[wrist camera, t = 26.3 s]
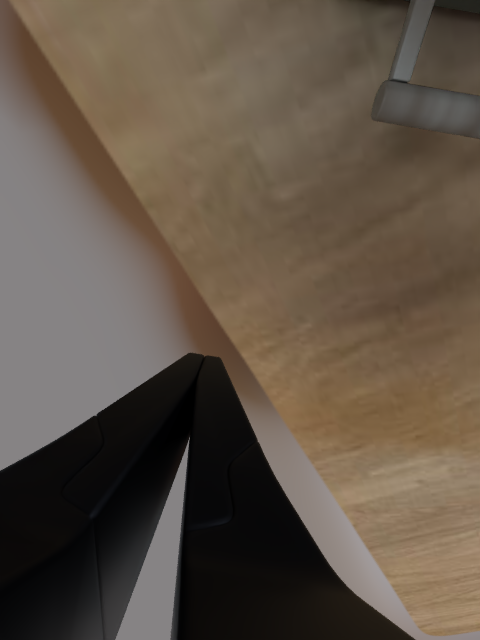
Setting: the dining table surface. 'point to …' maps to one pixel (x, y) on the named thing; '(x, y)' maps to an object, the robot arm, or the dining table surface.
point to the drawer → (419, 101)
